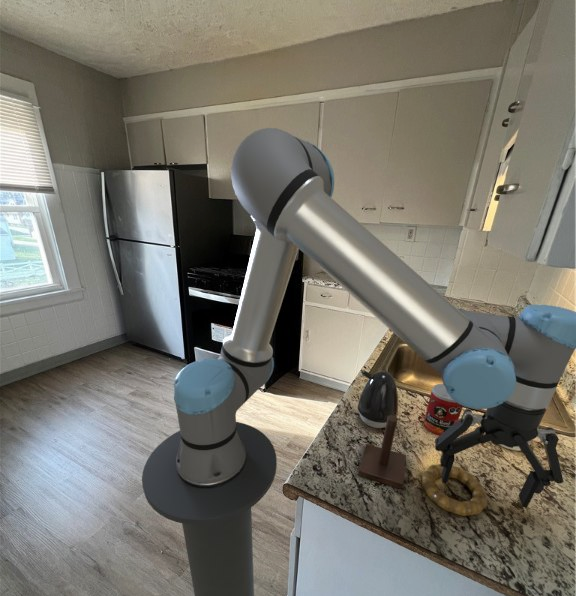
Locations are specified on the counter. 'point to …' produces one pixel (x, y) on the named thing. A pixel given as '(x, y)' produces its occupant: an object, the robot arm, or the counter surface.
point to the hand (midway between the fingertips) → (481, 489)
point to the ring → (450, 504)
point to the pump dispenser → (378, 399)
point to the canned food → (441, 410)
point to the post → (384, 459)
